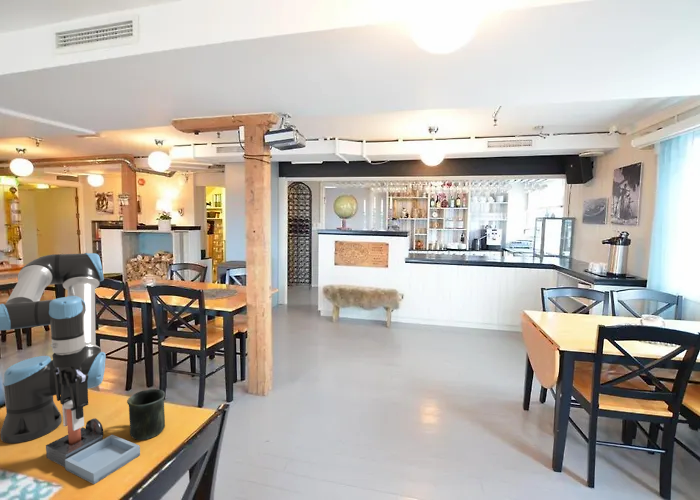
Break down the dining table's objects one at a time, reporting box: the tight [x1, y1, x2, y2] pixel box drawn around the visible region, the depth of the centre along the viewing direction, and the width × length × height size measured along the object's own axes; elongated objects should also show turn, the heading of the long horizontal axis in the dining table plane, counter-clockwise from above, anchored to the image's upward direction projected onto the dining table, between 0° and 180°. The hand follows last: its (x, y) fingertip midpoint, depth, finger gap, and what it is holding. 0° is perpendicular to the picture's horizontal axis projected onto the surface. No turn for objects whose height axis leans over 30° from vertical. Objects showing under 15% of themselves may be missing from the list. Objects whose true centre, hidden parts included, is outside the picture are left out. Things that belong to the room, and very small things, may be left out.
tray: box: [64, 434, 141, 485], centre depth 104 cm, size 13×13×3 cm
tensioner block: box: [45, 417, 105, 468], centre depth 109 cm, size 10×12×8 cm
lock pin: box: [64, 400, 82, 446], centre depth 108 cm, size 4×4×13 cm
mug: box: [126, 388, 166, 441], centre depth 120 cm, size 11×15×12 cm
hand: (73, 425), depth 108 cm, fingers closed on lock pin, 4 cm apart
